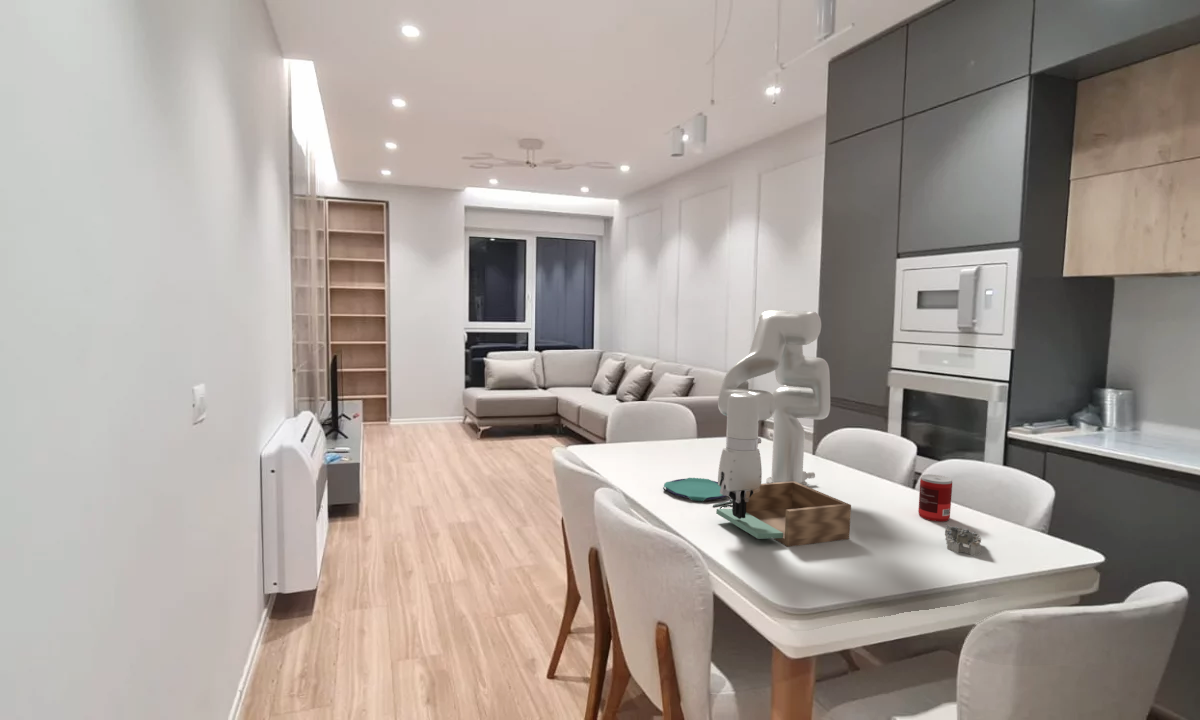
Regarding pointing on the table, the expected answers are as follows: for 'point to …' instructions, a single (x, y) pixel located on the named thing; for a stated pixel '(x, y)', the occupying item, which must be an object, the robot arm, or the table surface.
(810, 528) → the crate
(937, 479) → the canned food
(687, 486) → the teal flat rounded piece
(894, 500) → the table surface
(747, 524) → the panel
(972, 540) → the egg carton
